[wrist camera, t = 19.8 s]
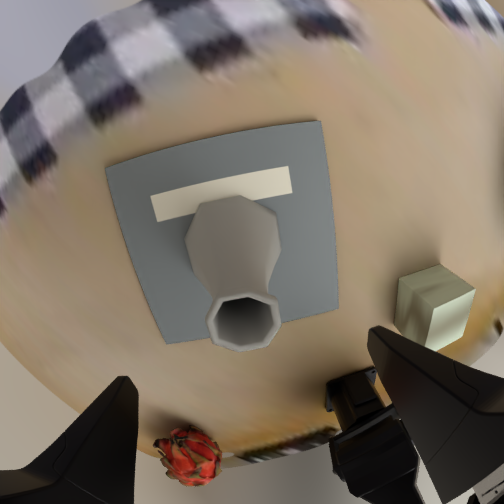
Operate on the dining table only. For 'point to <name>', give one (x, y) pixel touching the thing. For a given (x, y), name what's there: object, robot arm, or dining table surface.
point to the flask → (236, 270)
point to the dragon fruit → (190, 456)
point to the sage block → (433, 307)
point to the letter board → (219, 187)
